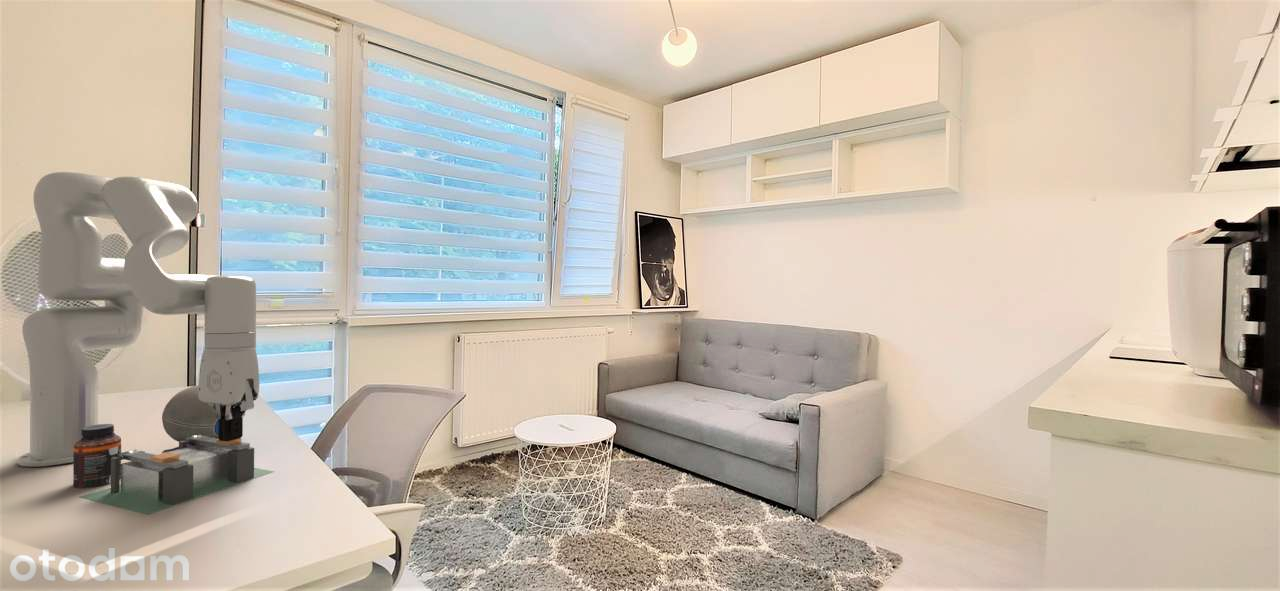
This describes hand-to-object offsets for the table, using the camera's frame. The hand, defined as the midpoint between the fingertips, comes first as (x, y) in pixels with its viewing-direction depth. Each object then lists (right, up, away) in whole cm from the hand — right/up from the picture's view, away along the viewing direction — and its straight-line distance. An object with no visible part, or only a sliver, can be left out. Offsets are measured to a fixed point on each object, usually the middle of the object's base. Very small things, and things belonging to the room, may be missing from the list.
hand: (230, 438), depth 96 cm
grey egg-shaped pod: (-19, -8, +16) cm, 27 cm away
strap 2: (-4, -2, +1) cm, 4 cm away
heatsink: (-6, -7, -3) cm, 10 cm away
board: (-6, -8, -3) cm, 11 cm away
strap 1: (-7, -2, -8) cm, 11 cm away
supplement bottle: (-21, -8, -4) cm, 23 cm away
